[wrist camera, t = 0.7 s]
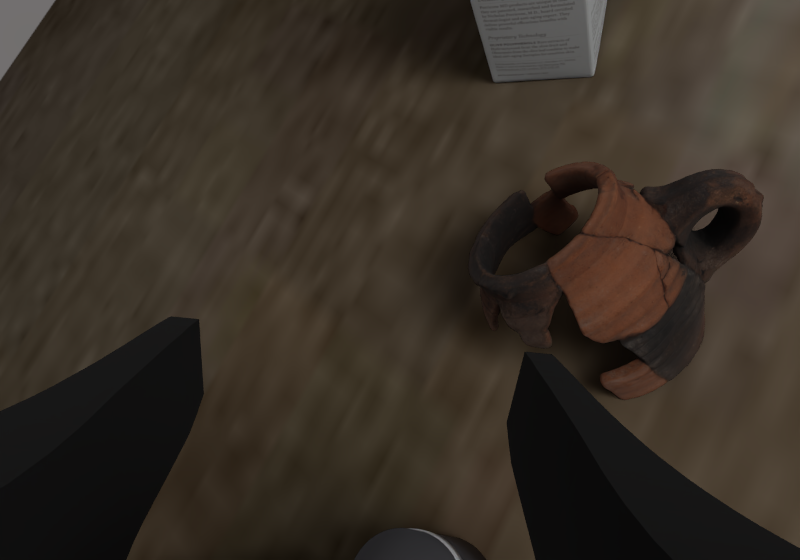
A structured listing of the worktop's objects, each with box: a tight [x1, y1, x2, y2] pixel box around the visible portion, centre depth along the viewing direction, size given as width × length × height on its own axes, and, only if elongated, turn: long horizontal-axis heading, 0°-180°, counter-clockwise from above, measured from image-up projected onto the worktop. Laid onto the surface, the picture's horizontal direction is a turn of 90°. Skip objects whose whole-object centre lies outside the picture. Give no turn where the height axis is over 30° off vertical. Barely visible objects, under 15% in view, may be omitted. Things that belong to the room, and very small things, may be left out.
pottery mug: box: [468, 162, 764, 400], centre depth 25 cm, size 12×10×8 cm
